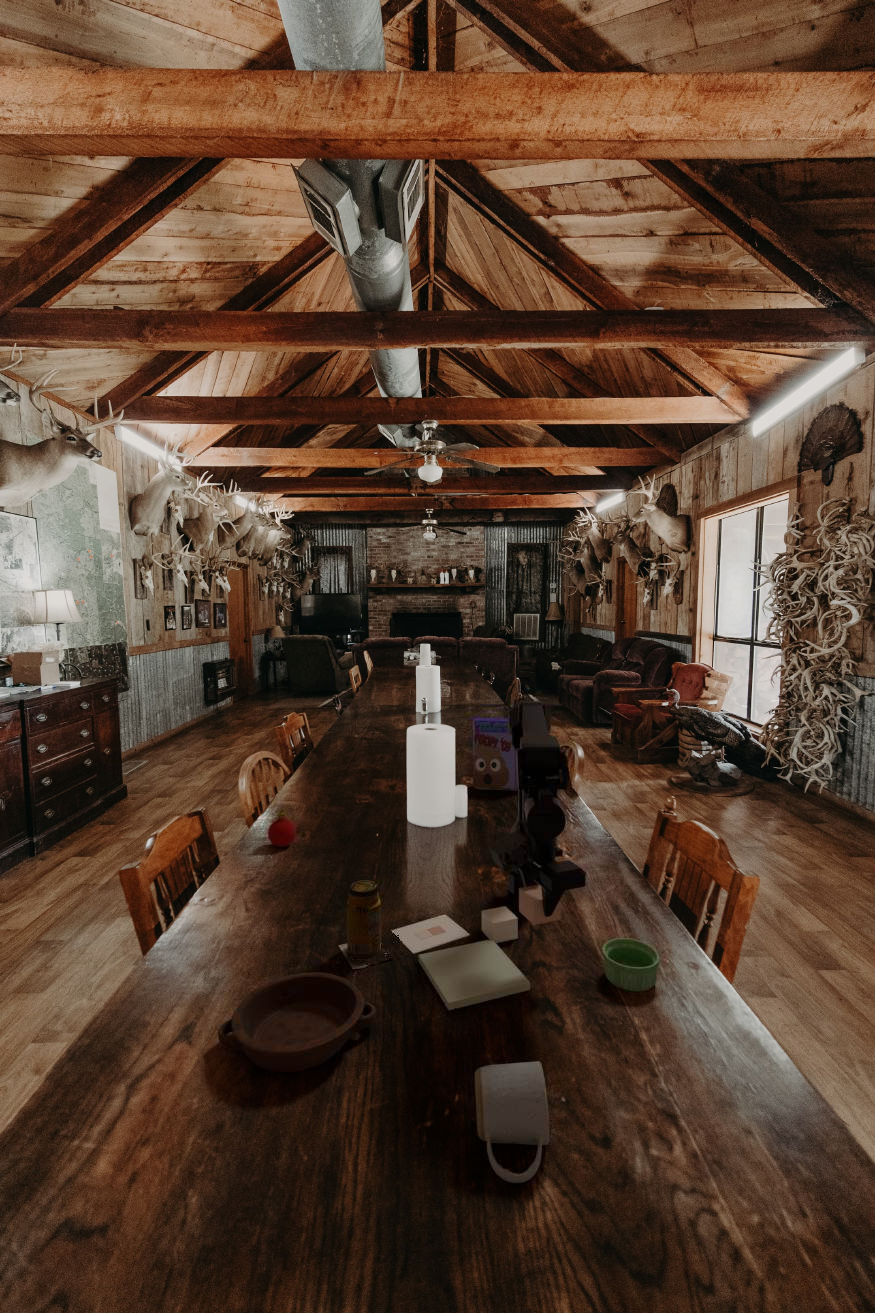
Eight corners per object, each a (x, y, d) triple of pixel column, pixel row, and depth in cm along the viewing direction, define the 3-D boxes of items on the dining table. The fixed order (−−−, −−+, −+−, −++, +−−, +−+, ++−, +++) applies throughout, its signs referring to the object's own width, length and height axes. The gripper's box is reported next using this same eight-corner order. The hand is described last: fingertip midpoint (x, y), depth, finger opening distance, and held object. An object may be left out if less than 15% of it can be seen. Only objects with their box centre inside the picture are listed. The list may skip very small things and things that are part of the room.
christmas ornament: (292, 851, 155) (291, 812, 155) (264, 851, 155) (263, 812, 155) (299, 841, 162) (298, 804, 162) (272, 841, 163) (271, 804, 162)
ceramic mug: (473, 1106, 75) (473, 1047, 74) (540, 1106, 75) (540, 1047, 74) (478, 1189, 64) (478, 1121, 63) (556, 1189, 64) (557, 1121, 63)
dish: (385, 1072, 81) (384, 1036, 80) (208, 1102, 76) (207, 1064, 76) (370, 992, 98) (369, 962, 97) (225, 1013, 93) (224, 981, 93)
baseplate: (491, 945, 111) (491, 939, 111) (530, 989, 98) (530, 982, 97) (418, 961, 106) (418, 955, 106) (448, 1010, 93) (448, 1003, 93)
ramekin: (630, 1001, 95) (630, 974, 94) (590, 971, 103) (590, 946, 102) (671, 984, 99) (671, 958, 98) (630, 957, 107) (630, 932, 106)
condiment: (376, 937, 114) (375, 874, 113) (393, 960, 106) (392, 893, 105) (338, 947, 111) (337, 882, 110) (353, 971, 103) (351, 902, 102)
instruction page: (445, 915, 122) (445, 914, 122) (470, 935, 114) (470, 934, 114) (390, 931, 116) (390, 930, 116) (413, 954, 108) (413, 953, 108)
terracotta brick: (545, 906, 105) (545, 883, 105) (560, 919, 100) (560, 895, 100) (519, 911, 103) (519, 888, 103) (533, 925, 99) (533, 901, 98)
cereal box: (473, 790, 208) (472, 720, 206) (474, 786, 212) (474, 717, 211) (524, 792, 205) (524, 721, 203) (525, 788, 209) (525, 718, 208)
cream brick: (505, 926, 118) (505, 906, 117) (517, 939, 113) (517, 918, 113) (481, 931, 116) (481, 911, 116) (493, 944, 111) (493, 923, 111)
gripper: (472, 806, 107) (472, 893, 108) (524, 843, 89) (523, 946, 90) (528, 799, 110) (528, 883, 112) (588, 833, 93) (587, 932, 94)
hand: (539, 909), depth 102 cm, fingers closed on terracotta brick, 5 cm apart
